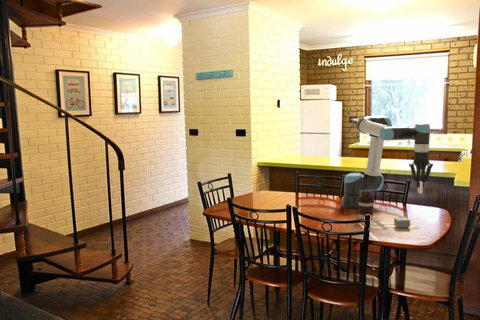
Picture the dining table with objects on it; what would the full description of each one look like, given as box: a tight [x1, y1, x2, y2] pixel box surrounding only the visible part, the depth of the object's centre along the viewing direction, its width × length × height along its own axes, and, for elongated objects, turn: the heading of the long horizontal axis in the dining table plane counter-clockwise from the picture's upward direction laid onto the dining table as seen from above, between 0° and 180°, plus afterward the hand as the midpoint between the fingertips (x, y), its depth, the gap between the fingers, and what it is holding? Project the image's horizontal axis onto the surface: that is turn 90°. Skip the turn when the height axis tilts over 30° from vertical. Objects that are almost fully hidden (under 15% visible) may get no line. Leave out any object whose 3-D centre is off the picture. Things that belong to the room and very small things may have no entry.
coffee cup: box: [358, 195, 375, 220], centre depth 247 cm, size 10×10×15 cm
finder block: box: [393, 217, 411, 230], centre depth 227 cm, size 5×7×5 cm
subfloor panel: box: [360, 219, 420, 231], centre depth 234 cm, size 18×28×2 cm, turn 91°
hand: (420, 193), depth 225 cm, fingers closed
